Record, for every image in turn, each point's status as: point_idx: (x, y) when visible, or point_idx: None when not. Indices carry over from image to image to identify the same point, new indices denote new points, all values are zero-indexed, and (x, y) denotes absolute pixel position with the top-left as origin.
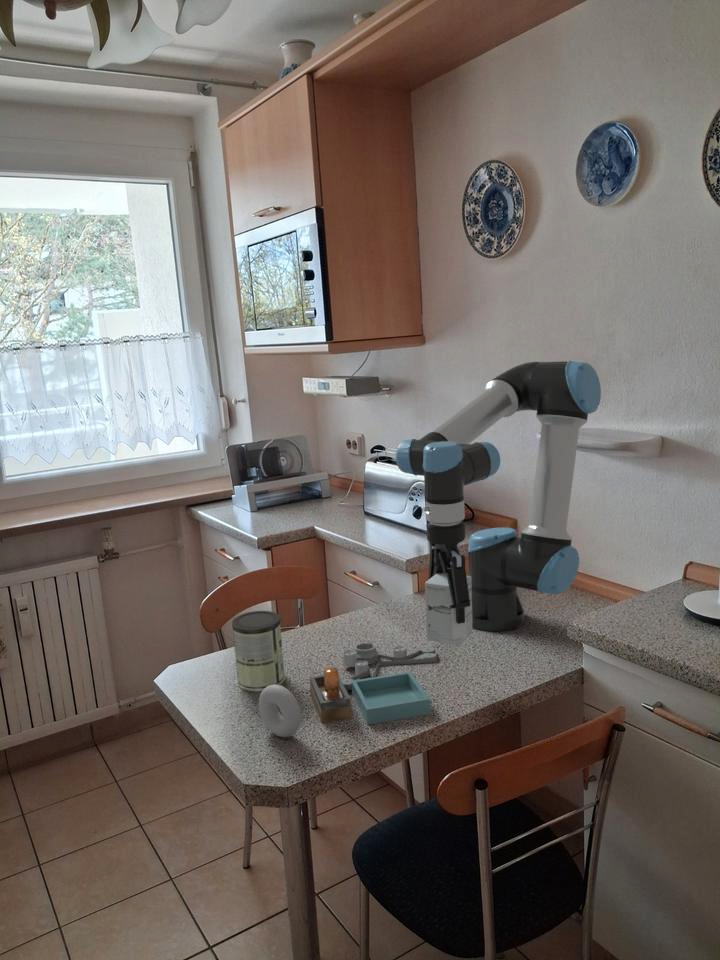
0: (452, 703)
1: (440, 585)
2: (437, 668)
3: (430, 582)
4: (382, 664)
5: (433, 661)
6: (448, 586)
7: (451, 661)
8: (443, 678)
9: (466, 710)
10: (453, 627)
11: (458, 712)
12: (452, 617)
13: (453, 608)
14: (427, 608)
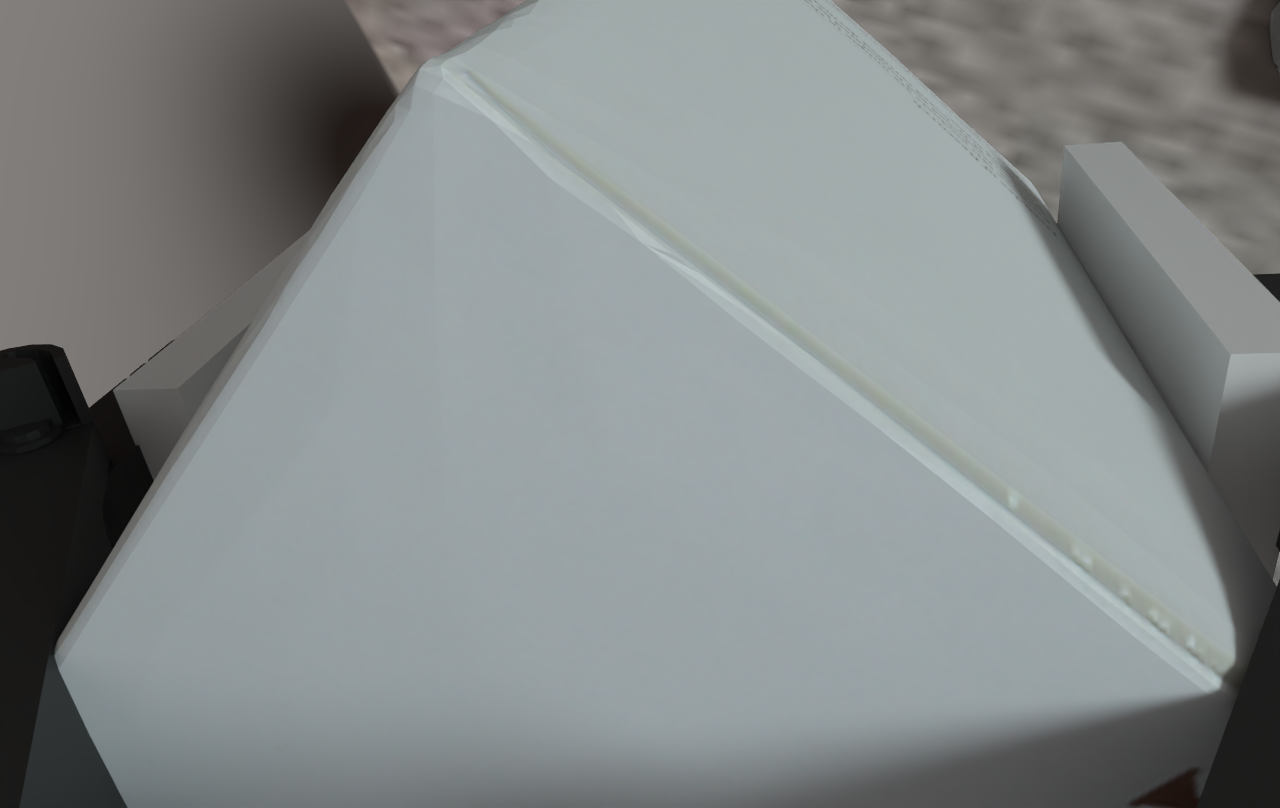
0: (514, 2)
1: (152, 493)
2: (1128, 41)
3: (400, 284)
4: None
5: (1271, 40)
6: (69, 640)
7: (1198, 190)
8: (927, 43)
9: (404, 73)
10: (294, 251)
11: (382, 9)
12: (222, 305)
13: (129, 397)
14: None
